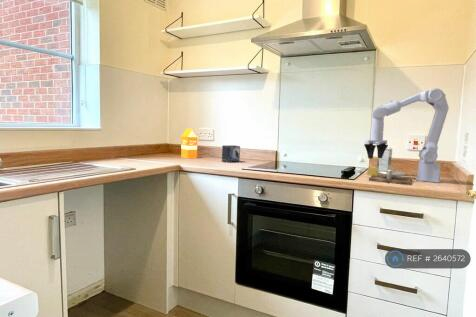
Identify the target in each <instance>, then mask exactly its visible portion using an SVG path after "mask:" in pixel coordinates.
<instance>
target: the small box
mask: <svg viewBox="0 0 476 317" xmlns="http://www.w3.org/2000/svg"><path fill="white" fill-rule="evenodd" d="M221 147H222V150H221V152H222V153H221V162H223V163H240V159H241V158H240V156H241V146H240V145H232V144H231V145H222V146H221Z"/></svg>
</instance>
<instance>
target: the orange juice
mask: <svg viewBox="0 0 476 317" xmlns="http://www.w3.org/2000/svg"><path fill="white" fill-rule="evenodd" d="M180 146H181V150H180V157H181V158H184V159H198V135H197V134H196V132H195V131H194V129H193V128H185V129H184V132H183V133H182V134H181V145H180Z"/></svg>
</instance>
